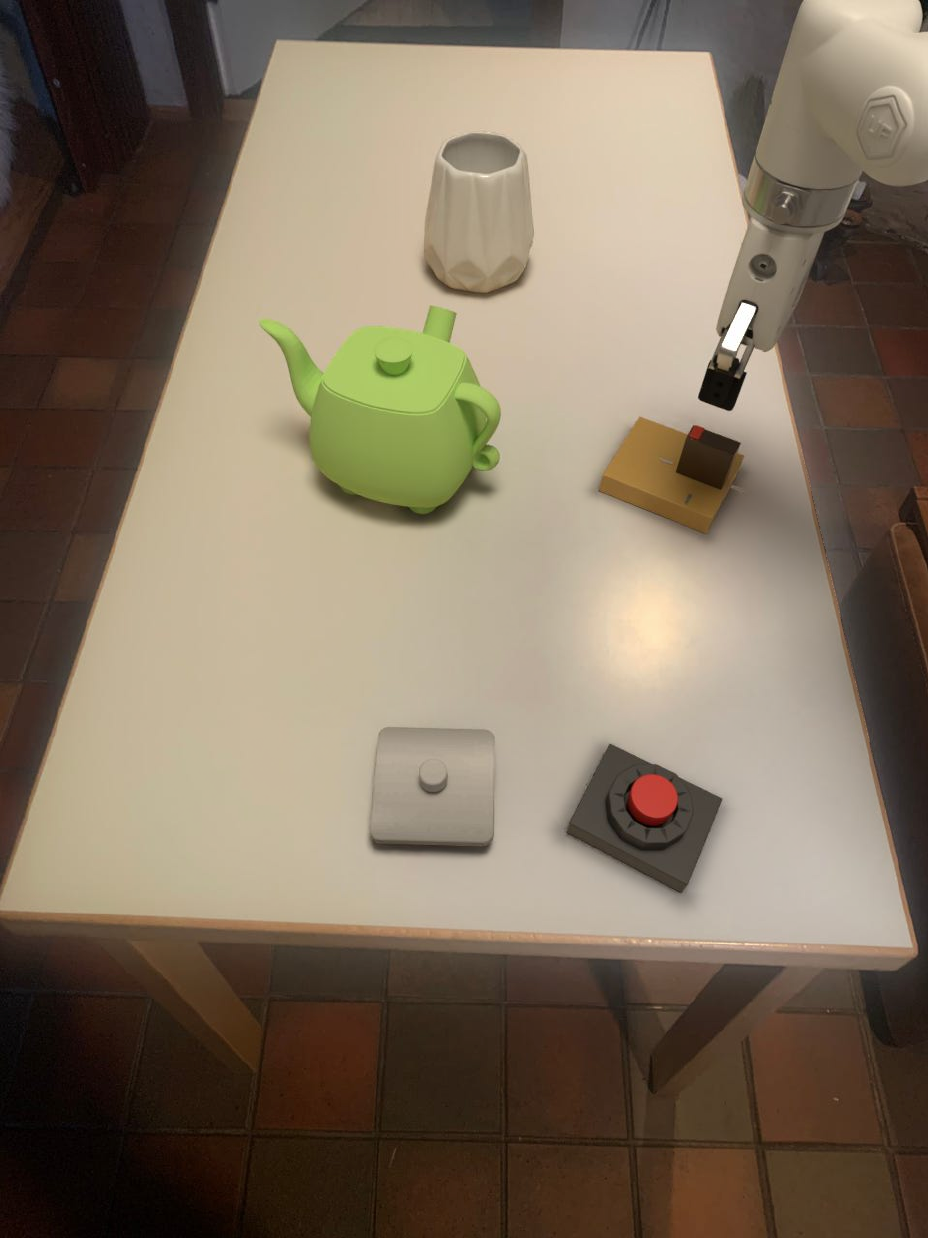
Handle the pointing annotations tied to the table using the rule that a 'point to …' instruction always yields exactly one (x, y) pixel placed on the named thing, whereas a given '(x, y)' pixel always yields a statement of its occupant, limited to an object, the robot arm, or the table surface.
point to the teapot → (395, 412)
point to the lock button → (652, 799)
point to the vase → (479, 212)
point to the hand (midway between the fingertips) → (733, 371)
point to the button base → (632, 842)
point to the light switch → (433, 787)
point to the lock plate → (663, 477)
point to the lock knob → (707, 457)
